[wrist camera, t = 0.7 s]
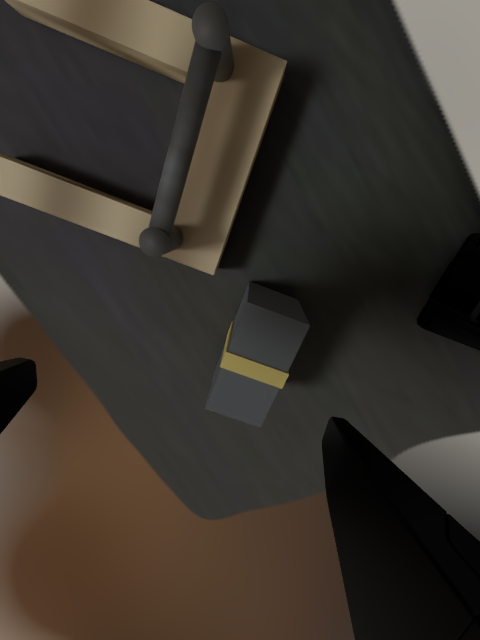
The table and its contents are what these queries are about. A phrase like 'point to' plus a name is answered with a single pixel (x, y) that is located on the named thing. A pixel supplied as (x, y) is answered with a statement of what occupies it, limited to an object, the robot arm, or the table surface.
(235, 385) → the banded grey block
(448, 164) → the table surface
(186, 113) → the wooden u-shaped holder
